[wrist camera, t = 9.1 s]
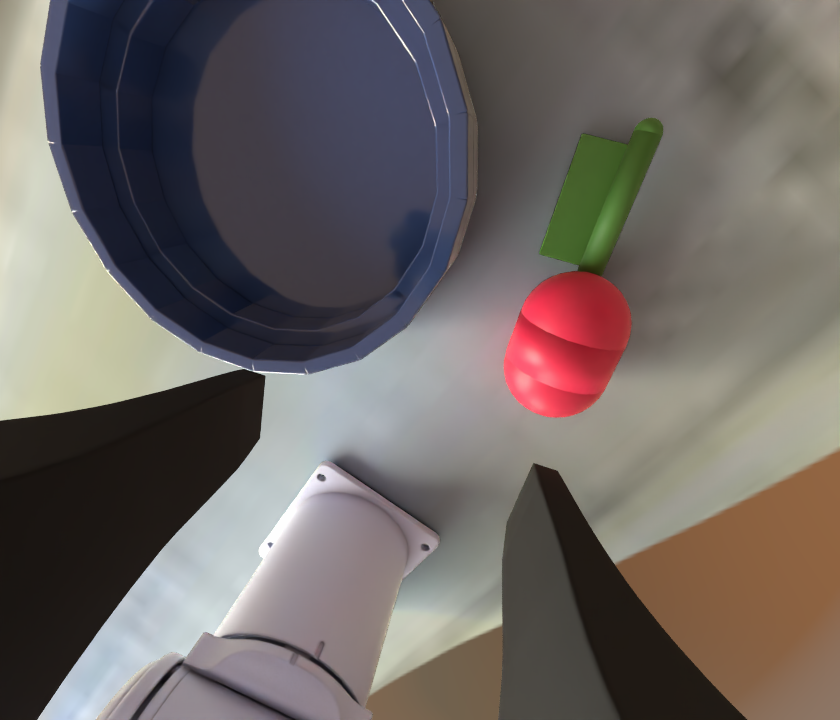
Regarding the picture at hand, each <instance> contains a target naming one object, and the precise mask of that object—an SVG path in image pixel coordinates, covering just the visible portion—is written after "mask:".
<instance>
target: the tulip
mask: <svg viewBox="0 0 840 720" xmlns="http://www.w3.org/2000/svg"><path fill="white" fill-rule="evenodd" d="M662 135H663V125H662V123H661V122H660V121H659V120H658V119H656V118H647V119H644V120H642V121H641V122H639V123H638V124H637V126H636V127H635V129H634V131H633V133H632V136H631V138H630V141H629V143H628V145H627V144H623V143H619V142H616V141H612V140H608V139H604V138H600V137H596V136H592V135H588V134H584V133H582V134H581V137H580V140H579V143H578V145H577V148H576V151H575V154H574V157H573V159H572V162H571V165H570V168H569V171H568V173H567V176H566V179H565V182H564V185H563V187H562V190H561V193H560V196H559V199H558V201H557V204H556V207H555V210H554V213H553V215H552V218H551V221H550V224H549V227H548V229H547V232H546V235H545V238H544V241H543V243H542V246H541V249H540V252H539V254H540V255H544V256H547V257H551V258H555V259H558V260H562V261H565V262H569V263H572V264H576V265H579V267H578V271H572V272H565V273H560V274H558V275H555V276H552V277H550V278H548V279H547V280H545V281H543V282H542V283H540V284H539V285H538V286H537V287H536V288H535V289H534V290H532V292H531V293H530V294H529V296H528V297H527V298H526V300H525V303H524V305H523V307H522V309H521V311H520V314H519V317H518V320H517V323H516V325H515V328H514V331H513V334H512V336H511V339H510V342H509V345H508V348H507V351H506V355H505V359H504V373H505V378H506V382H507V385H508V387H509V389H510V391H511V393H512V394H513V395H514V397H515V398H516V399H517V400H518V402H519V403H521V404H522V405H523V406H524V407H526V408H527V409H529V410H531V411H532V412H535V413H537V414H540V415H543V416H547V417H556V418H557V417H568V416H572V415H575V414H578V413H580V412H582V411H584V410H586V409H587V408H589V407H590V406H591V405H593V404H594V403H595V402H596V401H597V400H598V399H599V398H600V396H601V395H602V393H603V392H604V390H605V388H606V386H607V384H608V382H609V380H610V378H611V376H612V374H613V372H614V370H615V368H616V366H617V364H618V362H619V360H620V358H621V356H622V354H623V352H624V350H625V348H626V346H627V343H628V340H629V337H630V333H631V325H632V322H631V313H630V309H629V306H628V303H627V301H626V300H625V298H624V296H623V295H622V293H621V292H620V291H619V290H618V289H617V288H616V287H615V286H614V284H612V283H611V282H609V281H608V280H606V279H605V278H603V277H601V276H602V275H603V272H604V270H605V268H606V265H607V263H608V261H609V258H610V256H611V254H612V251H613V249H614V247H615V244H616V242H617V240H618V238H619V235H620V233H621V231H622V228H623V226H624V224H625V221H626V219H627V217H628V214H629V212H630V210H631V207H632V205H633V203H634V200H635V198H636V196H637V193H638V191H639V189H640V187H641V184H642V182H643V180H644V177H645V175H646V173H647V170H648V168H649V166H650V163H651V161H652V159H653V156H654V154H655V152H656V149H657V147H658V145H659V143H660V140H661V138H662Z"/></svg>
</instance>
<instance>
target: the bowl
mask: <svg viewBox="0 0 840 720" xmlns="http://www.w3.org/2000/svg"><path fill="white" fill-rule="evenodd" d="M40 65H41V66H40V69H41V79H42V89H43V99H44V109H45V119H46V128H47V138H48V142H49V146H50V149H51V152H52V155H53V158H54V161H55V164H56V167H57V170H58V173H59V176H60V179H61V182H62V185H63V188H64V191H65V194H66V197H67V200H68V202H69V205H70V208H71V211H72V212H73V215H74V217H75V219H76V220H77V222H78V224H79V225H80V227H81V229H82V230H83V232H84V234H85V235H86V237H87V239H88V240H89V242H90V244H91V246H92V247H93V249H94V251H95V252H96V254H97V256H98V257H99V259H100V261H101V262H102V264H103V266H104V267H105V269H106V270H107V271H108V273H109V274H110V276H111V277H112V278H113V279H114V280H115V281H116V282H117V283H118V284H119V285H120V286H121V287H122V288H123V290H124V291H125V292H126V293H127V294H128V295H129V296H130V297H131V298H132V299H133V300H134V301H135V303H136V304H137V305H138V306H139V307H140V308H141V309H142V310H143V311H144V312H145V313H146V314H147V315H148V317H149V318H151V320H153V321H154V322H156V323H157V324H158V325H160V326H161V327H163V328H164V329H166V330H167V331H169V332H170V333H172V334H173V335H175V336H176V337H178V338H179V339H180V340H182V341H183V342H185V343H186V344H188V345H189V346H191V347H192V348H194V349H195V350H197V351H198V352H201V353H202V354H205V355H208V356H211V357H214V358H216V359H219V360H222V361H225V362H227V363H230V364H233V365H236V366H239V367H241V368H244V369H247V370H250V371H254V372H267V373H285V374H304V375H306V374H312V373H316V372H319V371H323V370H327V369H330V368H334V367H337V366H341V365H345V364H348V363H352V362H355V361H359V360H361V359H363V358H364V357H366V356H367V355H368V354H370V353H371V352H373V351H374V350H376V349H377V348H378V347H380V346H381V345H383V344H384V343H385V342H387V341H388V340H390V339H391V338H393V337H394V336H395V335H397V334H398V333H400V332H401V331H402V330H404V329H405V328H407V326H408V325H409V324H410V323H411V322H412V320H413V319H414V317H415V316H416V315H417V313H418V312H419V310H420V309H421V308H422V306H423V305H424V303H425V302H426V301H427V299H428V298H429V296H430V295H431V294H432V292H433V291H434V289H435V288H436V286H437V285H438V284H439V282H440V281H441V279H442V278H443V277H444V275H445V274H446V272H447V271H448V269H449V268H450V267H451V265H452V264H453V262H454V261H455V260H456V258H457V256H458V254H459V252H460V249H461V245H462V242H463V239H464V236H465V233H466V229H467V226H468V223H469V220H470V217H471V213H472V210H473V207H474V204H475V201H476V197H477V195H476V194H477V184H478V124H477V117H476V114H475V110H474V107H473V103H472V100H471V96H470V93H469V89H468V86H467V82H466V79H465V75H464V72H463V68H462V64H461V61H460V57H459V54H458V51H457V49H456V47H455V45H454V43H453V41H452V39H451V37H450V35H449V32H448V30H447V28H446V26H445V24H444V22H443V20H442V18H441V16H440V15H439V13H438V11H437V10H436V8H435V7H434V5H433V4H432V2H431V1H430V0H50V5H49V12H48V18H47V25H46V31H45V37H44V44H43V50H42V56H41V63H40Z"/></svg>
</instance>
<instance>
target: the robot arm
mask: <svg viewBox="0 0 840 720" xmlns="http://www.w3.org/2000/svg"><path fill="white" fill-rule="evenodd" d="M264 386H265V376H264V375H261V374H258V373H255V372H252V371H249V370H246V369H242V370H237V371H232V372H229V373H225V374H221V375H218V376H214V377H211V378H207V379H204V380H200V381H197V382H193V383H190V384H186V385H183V386H179V387H176V388H172V389H169V390H165V391H161V392H157V393H153V394H149V395H145V396H141V397H137V398H133V399H129V400H125V401H121V402H117V403H112V404H108V405H103V406H98V407H93V408H87V409H82V410H76V411H70V412H64V413H58V414H52V415H44V416H36V417H28V418H19V419H11V420H3V421H0V720H37V719H38V718H39V716H40V715H41V713H42V712H43V710H44V709H45V707H46V706H47V704H48V703H49V701H50V700H51V698H52V697H53V695H54V694H55V692H56V691H57V689H58V688H59V686H60V685H61V683H62V682H63V680H64V679H65V678H66V676H67V675H68V673H69V672H70V671H71V669H72V668H73V666H74V665H75V664H76V662H77V661H78V659H79V658H80V657H81V655H82V654H83V652H84V651H85V650H86V648H87V647H88V645H89V644H90V643H91V641H92V640H93V638H94V637H95V636H96V634H97V633H98V631H99V630H100V629H101V627H102V626H103V625H104V623H105V622H106V621H107V619H108V618H109V617H110V615H111V614H112V613H113V611H114V610H115V609H116V607H117V606H118V605H119V603H120V602H121V601H122V599H123V598H124V597H125V595H126V594H127V593H128V591H129V590H130V589H131V587H132V586H133V585H134V584H135V582H136V581H137V580H138V579H139V577H140V576H141V575H142V573H143V572H144V571H145V570H146V568H147V567H148V566H149V565H150V563H151V562H152V561H153V560H154V558H155V557H156V556H157V555H158V553H159V552H160V551H161V550H162V548H163V547H164V546H165V545H166V544H167V543H168V542H169V541H170V539H171V538H172V537H173V536H174V535H175V534H176V533H177V532H178V531H179V530H180V529H181V528H182V527H183V526H184V524H185V523H186V522H187V521H188V520H189V519H190V518H191V517H192V516H193V515H194V514H195V513H196V512H197V511H198V510H199V509H200V508H201V507H202V506H203V505H204V504H205V503H206V502H207V501H208V500H209V499H210V497H211V496H212V495H213V494H214V493H215V492H216V491H217V490H218V489H219V488H220V487H221V486H222V485H223V484H224V483H225V482H226V481H227V480H228V479H229V477H230V476H231V475H232V474H233V473H234V472H235V471H236V470H237V469H238V468H239V466H240V465H241V464H242V462H243V461H244V460H245V458H246V457H247V456H248V454H249V453H250V452H251V450H252V449H253V447H254V446H255V444H256V443H257V442H258V440H259V439H260V431H261V420H262V409H263V397H264ZM321 474H323V475H325V477H323V476H322V475H321ZM439 542H440V537H439V535H438V534H437V533H435V532H434V531H432V530H431V529H429V528H428V527H426V526H425V525H424V524H422V523H421V522H419V521H418V520H416V519H415V518H413V517H412V516H410V515H409V514H407V513H406V512H404V511H403V510H401V509H400V508H398V507H397V506H395V505H394V504H393V503H391V502H390V501H388V500H387V499H385V498H384V497H382V496H381V495H379V494H378V493H376V492H375V491H373V490H372V489H370V488H369V487H367V486H366V485H364V484H363V483H362V482H360V481H359V480H357V479H356V478H354V477H353V476H351V475H350V474H348V473H347V472H345V471H344V470H342V469H341V468H339V467H338V466H336V465H335V464H333V463H332V462H330V461H323V462H322V463H321V464H320V465H319V466H318V468H317V469H316V470H315V472H314V473H313V475H312V476H311V477H310V479H309V480H308V482H307V483H306V484H305V486H304V487H303V489H302V490H301V491H300V493H299V494H298V495H297V497H296V498H295V500H294V501H293V502H292V504H291V505H290V507H289V508H288V509H287V511H286V512H285V514H284V515H283V516H282V518H281V519H280V520H279V522H278V523H277V525H276V526H275V527H274V529H273V530H272V532H271V533H270V534H269V536H268V537H267V539H266V540H265V541H264V543H263V544H262V545H261V547H260V548H259V554H260V556H262V557H263V558H264V559H263V561H262V562H261V564H260V565H259V567H258V568H257V570H256V571H255V573H254V574H253V576H252V577H251V579H250V580H249V582H248V583H247V585H246V586H245V588H244V590H243V591H242V593H241V594H240V596H239V597H238V599H237V600H236V602H235V603H234V605H233V606H232V608H231V609H230V611H229V612H228V614H227V615H226V617H225V618H224V620H223V621H222V623H221V624H220V626H219V627H218V629H217V630H216V632H215V634H214V635H212V634H209V633H207V632H205V633H203V634H202V635H201V637H200V638H199V640H198V641H197V643H196V644H195V646H194V647H193V648H192V650H191V651H190V653H189V654H188V656H187V657H185V656H183V655H181V654H179V653H175V652H171V653H169V654H166V655H164V656H163V657H162V658H160V659H158V660H156V661H154V662H152V663H149V664H147V665H146V666H144V667H143V668H141V669H140V670H139V671H138V672H137V673H136V674H135V675H133V676H132V677H131V678H130V679H129V680H128V682H127V683H126V684H125V685H124V686H123V687H122V688H121V689H120V690H119V691H118V693H117V694H116V695H115V696H114V697H113V698H112V700H111V701H110V702H109V703H108V705H107V706H106V707H105V708H104V710H103V711H102V712H101V713H100V715H99V716H98V717H97V719H96V720H372V716H373V714H372V712H371V711H369V710H367V709H365V706H366V703H367V699H368V696H369V692H370V689H371V685H372V682H373V678H374V675H375V672H376V668H377V665H378V661H379V658H380V654H381V651H382V647H383V644H384V640H385V637H386V633H387V630H388V626H389V623H390V619H391V616H392V612H393V609H394V605H395V602H396V598H397V595H398V591H399V588H400V584H401V581H402V580H403V579H404V578H405V577H406V576H407V575H408V574H409V573H410V572H412V571H413V570H414V569H415V568H416V567H417V566H418V565H419V564H420V563H421V562H422V561H423V560H424V559H425V558H426V557H427V556H428V555H429V554H431V553H432V552H433V551H434V550H435V549H436V548H437V547H438V545H439ZM424 544H427V545H424ZM502 616H503V663H502V684H501V695H500V707H499V719H498V720H747V719H746V718H745V717H744V716H743V715H742V714H741V713H740V712H739V711H738V710H737V709H736V708H735V707H734V706H733V705H732V704H731V703H730V702H729V701H728V700H727V699H726V698H725V697H724V696H723V695H722V694H721V693H720V692H719V690H717V689H716V687H715V686H714V685H713V684H712V683H711V682H710V681H709V680H708V679H707V678H706V677H705V676H704V675H703V673H702V672H701V671H700V670H699V669H698V668H697V667H696V666H695V665H694V663H693V662H692V661H691V660H690V659H689V658H688V657H687V656H686V655H685V654H684V652H683V651H682V650H681V649H680V648H679V647H678V646H677V644H676V643H675V642H674V641H673V640H672V639H671V637H670V636H669V635H668V634H667V633H666V632H665V630H664V629H663V628H662V627H661V626H660V624H659V623H658V622H657V621H656V619H655V618H654V617H653V616H652V614H651V613H650V612H649V611H648V609H647V608H646V607H645V606H644V604H643V603H642V602H641V600H640V599H639V598H638V597H637V595H636V594H635V593H634V591H633V590H632V589H631V587H630V586H629V584H628V583H627V582H626V581H625V579H624V577H623V576H622V575H621V573H620V572H619V570H618V569H617V567H616V566H615V564H614V563H613V562H612V560H611V559H610V557H609V556H608V554H607V553H606V551H605V550H604V548H603V546H602V545H601V543H600V542H599V540H598V539H597V537H596V535H595V534H594V532H593V531H592V529H591V527H590V526H589V524H588V522H587V521H586V519H585V517H584V516H583V514H582V512H581V511H580V509H579V507H578V505H577V504H576V502H575V500H574V498H573V497H572V495H571V493H570V491H569V490H568V488H567V486H566V484H565V483H564V481H563V479H562V477H561V476H560V474H559V472H558V471H556V470H553V469H550V468H547V467H544V466H541V465H538V464H535V463H533V465H532V467H531V470H530V472H529V474H528V476H527V478H526V481H525V483H524V485H523V487H522V490H521V492H520V494H519V496H518V499H517V501H516V503H515V505H514V507H513V510H512V512H511V514H510V516H509V519H508V521H507V525H506V533H505V541H504V550H503V559H502Z"/></svg>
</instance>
